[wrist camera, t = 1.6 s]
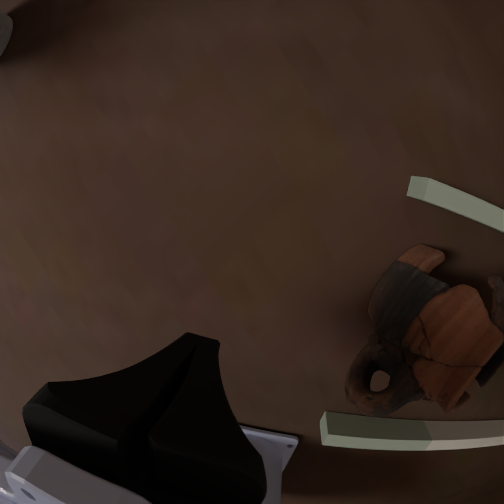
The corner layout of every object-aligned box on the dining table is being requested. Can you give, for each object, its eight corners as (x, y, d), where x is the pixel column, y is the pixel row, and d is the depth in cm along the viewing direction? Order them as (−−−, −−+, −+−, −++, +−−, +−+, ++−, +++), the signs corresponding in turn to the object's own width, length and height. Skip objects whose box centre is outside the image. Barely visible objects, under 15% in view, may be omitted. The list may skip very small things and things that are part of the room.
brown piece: (446, 204, 17) (550, 270, 11) (448, 293, 23) (516, 353, 16) (293, 322, 17) (381, 445, 10) (335, 385, 23) (393, 467, 16)
